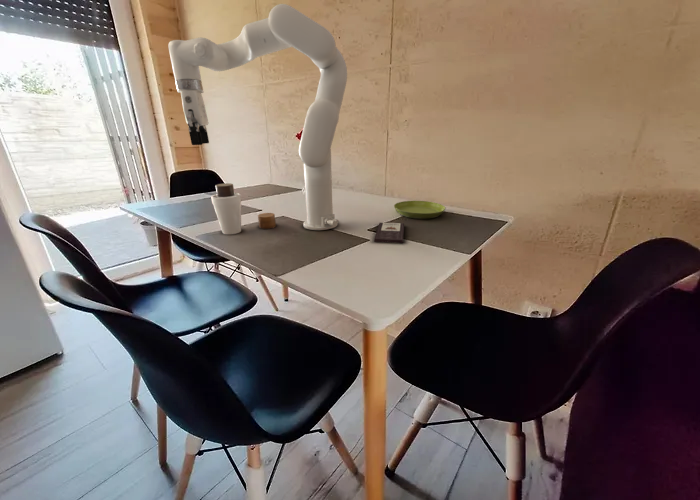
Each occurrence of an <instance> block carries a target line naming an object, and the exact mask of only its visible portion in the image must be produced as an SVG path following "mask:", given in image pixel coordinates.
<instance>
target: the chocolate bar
mask: <svg viewBox="0 0 700 500" xmlns="http://www.w3.org/2000/svg"><path fill="white" fill-rule="evenodd" d="M404 232H405V222H404V223H402V222H401V223H400V222H399V223H398V222H378V227H377V229H376V232H375V236H374V238H373V241H374V243H387V244H388V243H390V244H404Z"/></svg>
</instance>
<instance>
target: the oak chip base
mask: <svg viewBox="0 0 700 500" xmlns="http://www.w3.org/2000/svg"><path fill="white" fill-rule="evenodd" d="M258 227H259V229H264V230H268V229H273V228H275V227H277V225H276V220H275V221H273V222H270V223H260V222H259V221H258Z"/></svg>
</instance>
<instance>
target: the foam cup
mask: <svg viewBox="0 0 700 500" xmlns="http://www.w3.org/2000/svg"><path fill="white" fill-rule="evenodd" d="M234 194H235V195H233V196H230V197H218V196H217V193H216V194H212V195H211V196H210V200H211V204H212V205H213V208H214V211H215V215H216V217H217V221H218V223H219V227H220V230H221V232H222V234H223V235H235V234H240V233H241V232H242V194H241V193H239V192H234Z"/></svg>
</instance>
